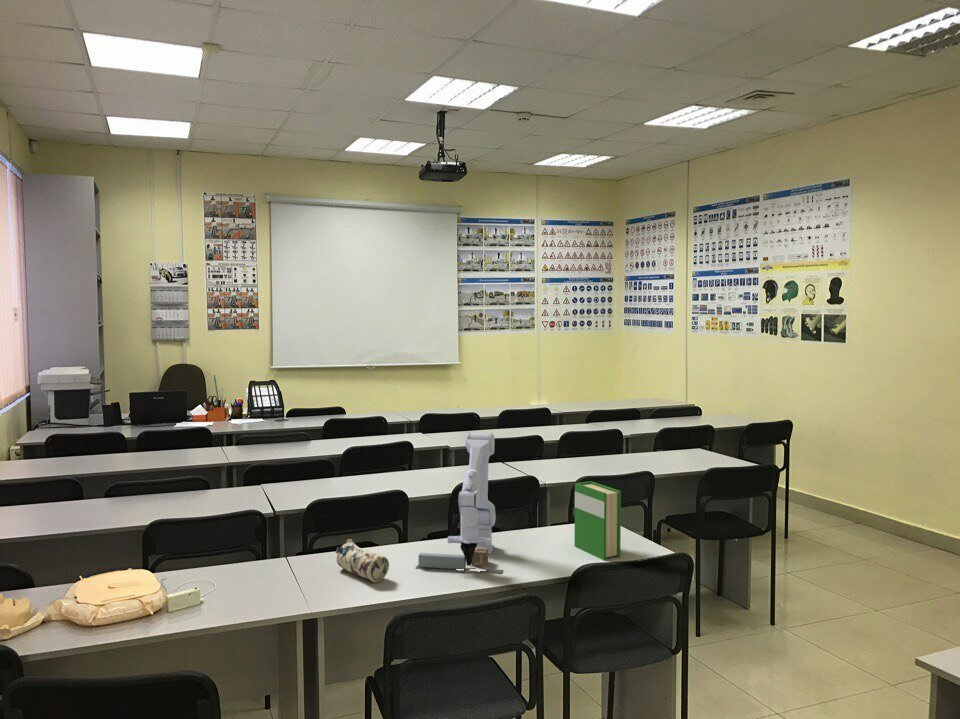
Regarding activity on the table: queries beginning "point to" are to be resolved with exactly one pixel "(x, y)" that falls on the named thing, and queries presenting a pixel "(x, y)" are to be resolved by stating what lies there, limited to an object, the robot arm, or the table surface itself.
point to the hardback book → (597, 519)
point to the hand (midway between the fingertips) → (469, 564)
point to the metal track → (464, 569)
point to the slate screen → (442, 561)
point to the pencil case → (362, 562)
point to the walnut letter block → (480, 557)
